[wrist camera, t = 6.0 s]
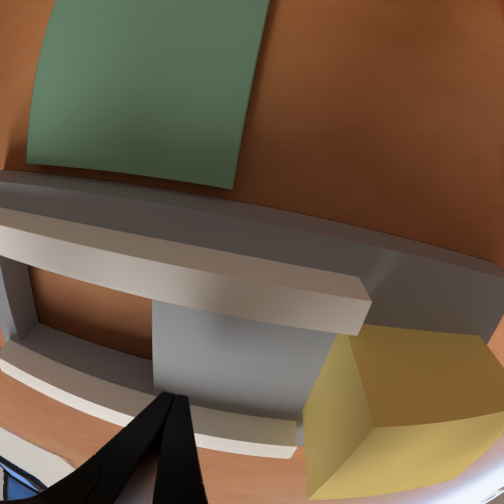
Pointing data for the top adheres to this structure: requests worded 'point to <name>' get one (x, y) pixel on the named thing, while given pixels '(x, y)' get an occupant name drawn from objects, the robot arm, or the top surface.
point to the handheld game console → (18, 482)
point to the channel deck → (216, 301)
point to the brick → (400, 411)
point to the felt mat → (146, 87)
